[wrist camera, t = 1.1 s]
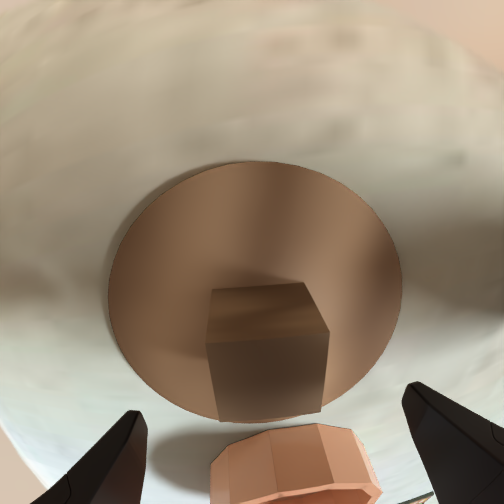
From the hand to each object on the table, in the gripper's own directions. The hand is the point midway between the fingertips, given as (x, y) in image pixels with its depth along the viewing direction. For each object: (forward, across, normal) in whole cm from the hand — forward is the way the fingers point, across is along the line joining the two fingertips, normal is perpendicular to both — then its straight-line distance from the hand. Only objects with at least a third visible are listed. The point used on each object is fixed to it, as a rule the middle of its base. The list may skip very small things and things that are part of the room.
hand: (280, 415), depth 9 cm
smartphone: (+7, -18, +40) cm, 44 cm away
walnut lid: (+6, 0, 0) cm, 7 cm away
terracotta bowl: (+6, -2, +15) cm, 16 cm away
